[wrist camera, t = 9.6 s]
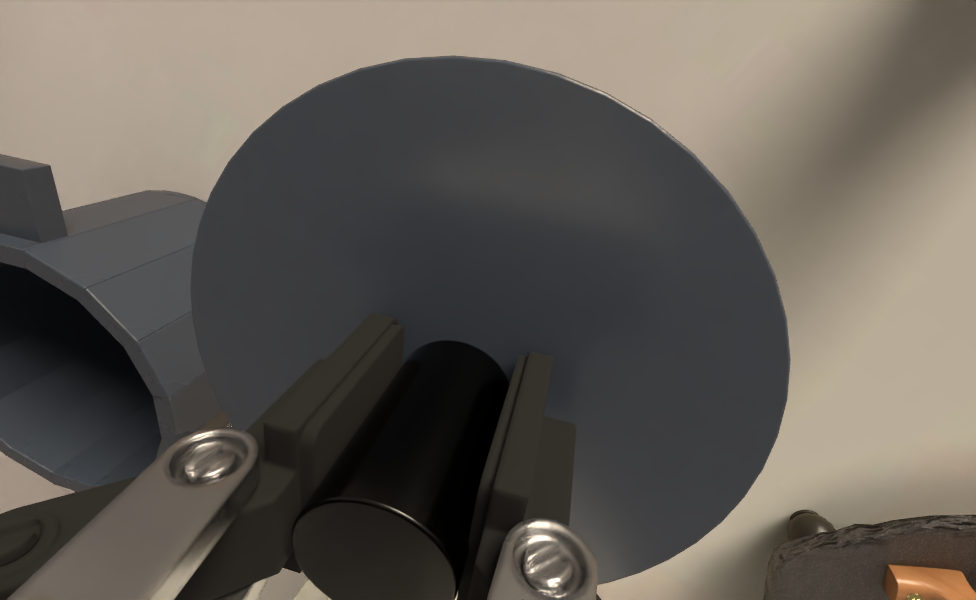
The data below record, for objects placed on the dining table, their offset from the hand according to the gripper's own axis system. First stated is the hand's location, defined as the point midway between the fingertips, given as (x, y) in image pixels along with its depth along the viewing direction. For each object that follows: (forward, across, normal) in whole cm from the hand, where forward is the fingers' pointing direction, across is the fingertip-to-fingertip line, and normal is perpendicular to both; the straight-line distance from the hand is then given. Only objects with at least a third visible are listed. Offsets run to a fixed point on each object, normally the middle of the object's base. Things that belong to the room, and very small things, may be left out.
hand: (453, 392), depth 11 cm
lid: (+1, 0, 0) cm, 1 cm away
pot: (+12, +18, +8) cm, 23 cm away
